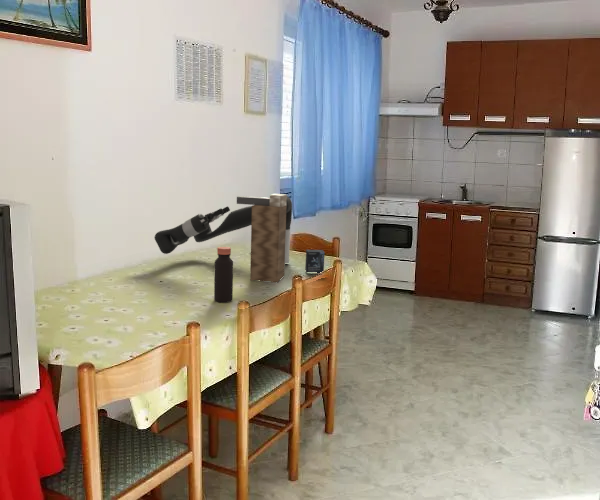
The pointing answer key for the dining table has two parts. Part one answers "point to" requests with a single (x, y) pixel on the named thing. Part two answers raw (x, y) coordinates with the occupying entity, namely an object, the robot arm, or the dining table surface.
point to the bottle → (223, 276)
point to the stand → (268, 239)
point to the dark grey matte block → (253, 200)
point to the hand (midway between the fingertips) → (225, 209)
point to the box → (314, 261)
